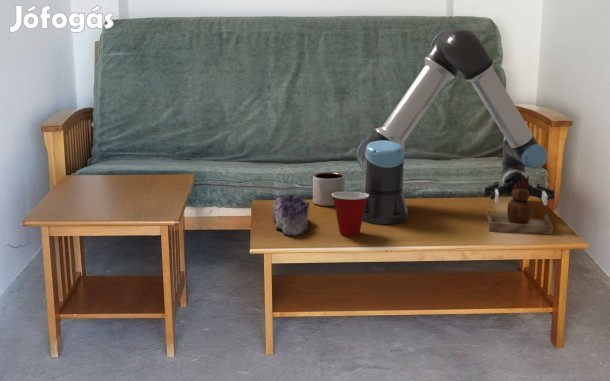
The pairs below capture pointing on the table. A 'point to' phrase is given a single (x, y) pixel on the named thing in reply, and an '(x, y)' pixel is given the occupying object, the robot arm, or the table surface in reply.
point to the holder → (520, 225)
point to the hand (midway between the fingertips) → (521, 199)
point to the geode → (291, 215)
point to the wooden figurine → (519, 204)
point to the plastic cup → (349, 211)
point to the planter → (327, 187)
